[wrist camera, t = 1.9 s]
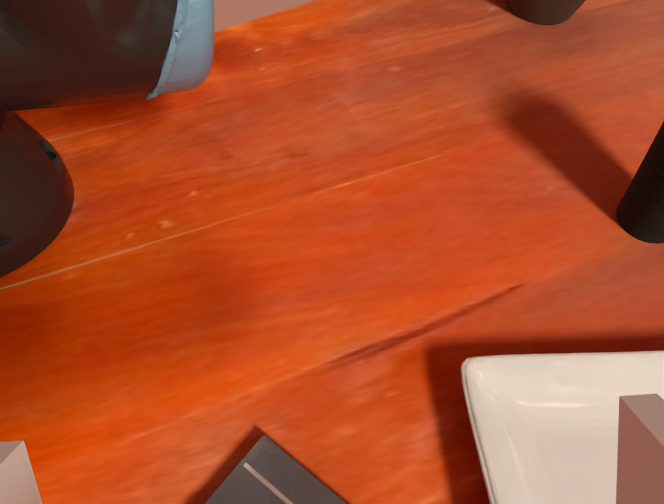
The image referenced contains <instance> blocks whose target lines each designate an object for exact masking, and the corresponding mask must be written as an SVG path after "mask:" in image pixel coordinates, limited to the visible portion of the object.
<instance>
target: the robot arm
mask: <svg viewBox="0 0 664 504" xmlns="http://www.w3.org/2000/svg"><path fill="white" fill-rule="evenodd" d="M213 50H214V0H0V277H2V276H4V275H6V274H8V273H10V272H12V271H14V270H16V269H17V268H19V267H21V266H22V265H24V264H26V263H27V262H29V261H30V260H31V259H33V258H34V257H36V256H37V255H38V254H39V253H40V252H42V251H43V250H44V249H45V248H46V247H47V246H48V245H49V244H50V243H51V242H52V241H53V240H54V239H55V237H56V236H57V235H58V234H59V232H60V231H61V230H62V228H63V226H64V225H65V223H66V221H67V219H68V217H69V215H70V212H71V209H72V205H73V200H74V188H73V183H72V180H71V177H70V175H69V173H68V171H67V169H66V167H65V165H64V163H63V160H62V158H61V157H60V155H59V154H58V152H57V151H56V150H55V148H54V147H53V146H52V145H51V144H50V143H49V142H48V141H47V140H46V139H44V138H43V137H42V136H41V135H40V134H39V133H38V132H37V131H36V130H35V129H34V128H32V127H31V126H30V125H29V124H28V123H27V122H26V121H25V120H24V119H22V118H21V117H20V116H19V115H18V114H17V113H16V112H15V111H16V110H27V109H38V108H49V107H60V106H71V105H82V104H93V103H104V102H115V101H126V100H137V99H146V100H149V99H153V98H155V97H157V96H158V95H163V94H169V93H175V92H180V91H186V90H191V89H194V88H196V87H198V86H199V85H201V84H202V83H203V82H204V81H205V79H206V78H207V76H208V74H209V72H210V69H211V65H212V60H213ZM0 504H42V501H41V497H40V494H39V491H38V487H37V484H36V480H35V477H34V474H33V470H32V467H31V463H30V460H29V457H28V453H27V450H26V446H25V443H24V440H20V441H6V442H0ZM616 504H664V400H663V399H662V398H661V397H660V396H659V395H658V394H657V393H655V394H641V395H628V396H619V422H618V454H617V486H616Z"/></svg>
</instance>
